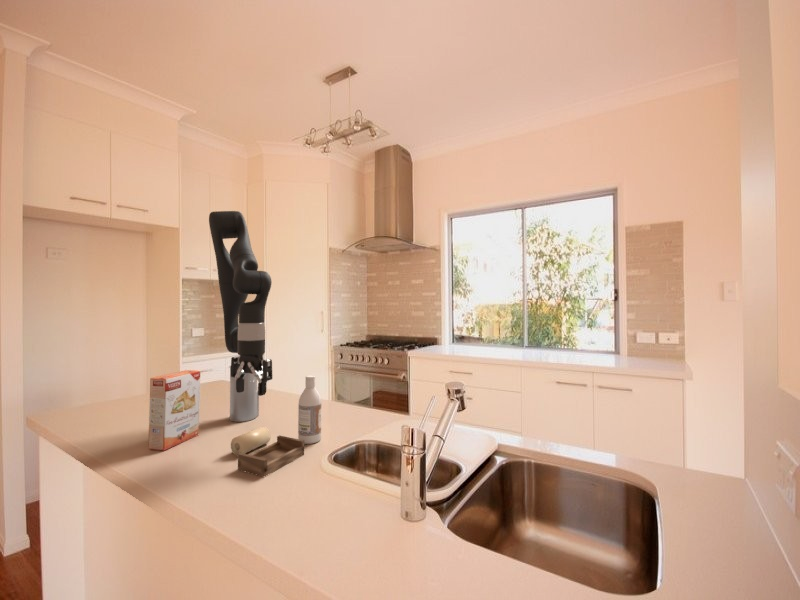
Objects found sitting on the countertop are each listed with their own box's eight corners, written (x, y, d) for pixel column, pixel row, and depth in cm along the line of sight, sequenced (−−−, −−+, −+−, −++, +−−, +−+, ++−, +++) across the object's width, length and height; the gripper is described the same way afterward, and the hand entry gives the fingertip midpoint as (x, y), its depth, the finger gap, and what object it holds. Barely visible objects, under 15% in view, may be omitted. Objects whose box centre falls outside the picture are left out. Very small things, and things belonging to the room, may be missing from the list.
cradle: (279, 449, 109) (279, 435, 109) (304, 454, 105) (304, 440, 105) (237, 469, 96) (237, 454, 96) (264, 477, 92) (264, 460, 92)
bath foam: (318, 444, 113) (319, 378, 113) (295, 444, 113) (296, 378, 113) (322, 436, 120) (323, 374, 120) (301, 436, 120) (301, 374, 120)
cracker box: (165, 451, 107) (166, 378, 107) (147, 449, 108) (148, 377, 108) (200, 434, 120) (201, 370, 121) (184, 433, 122) (185, 369, 122)
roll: (257, 442, 115) (257, 425, 115) (270, 445, 113) (270, 427, 113) (230, 454, 106) (230, 435, 106) (243, 457, 103) (244, 438, 104)
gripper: (279, 338, 110) (278, 393, 109) (244, 336, 116) (243, 388, 116) (259, 340, 103) (259, 399, 103) (223, 338, 109) (222, 393, 109)
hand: (250, 393), depth 109 cm, fingers open, 8 cm apart
